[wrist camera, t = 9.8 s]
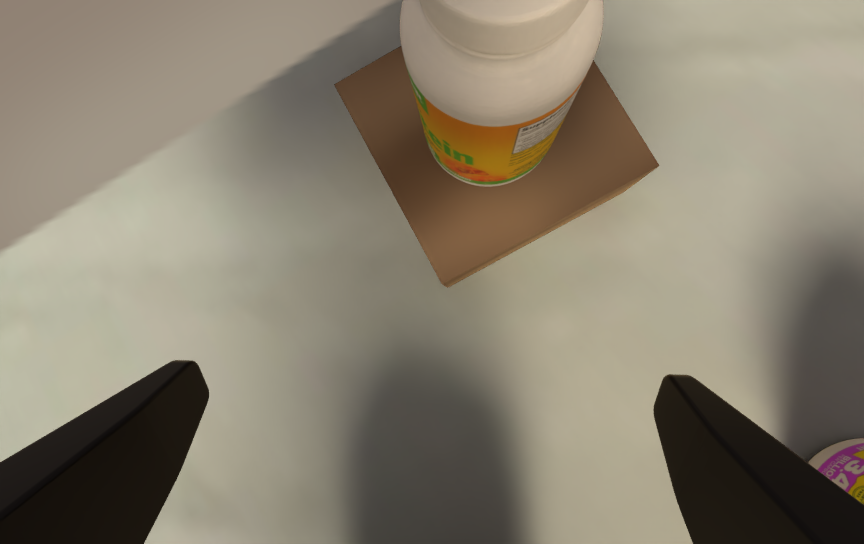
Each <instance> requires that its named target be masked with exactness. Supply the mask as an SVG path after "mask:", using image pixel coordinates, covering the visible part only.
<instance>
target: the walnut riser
mask: <svg viewBox="0 0 864 544" xmlns="http://www.w3.org/2000/svg"><path fill="white" fill-rule="evenodd" d="M334 85H335V87H336V89H337V91H338V93H339V95H340V96H341V98H342V100H343V102H344V104H345V106H346V108H347V109H348V111H349V113H350V115H351V117H352V119H353V120H354V122H355V124H356V126H357V128H358V130H359V132H360V133H361V135H362V137H363V139H364V141H365V143H366V145H367V146H368V148H369V150H370V152H371V154H372V156H373V157H374V159H375V161H376V163H377V165H378V167H379V169H380V170H381V172H382V174H383V176H384V178H385V180H386V182H387V183H388V185H389V187H390V189H391V191H392V193H393V194H394V196H395V198H396V200H397V202H398V204H399V206H400V207H401V209H402V211H403V213H404V215H405V217H406V218H407V220H408V222H409V224H410V226H411V228H412V230H413V231H414V233H415V235H416V237H417V239H418V241H419V243H420V244H421V246H422V248H423V250H424V252H425V254H426V255H427V257H428V259H429V261H430V263H431V265H432V267H433V268H434V270H435V272H436V274H437V276H438V278H439V280H440V281H441V283H442V284H443V285H444V286H446V287H447V288H448V287H450V286H452V285H453V284H455V283H457V282H459V281H461V280H463V279H464V278H466V277H468V276H470V275H472V274H474V273H476V272H477V271H479V270H481V269H483V268H485V267H487V266H488V265H490V264H492V263H494V262H496V261H498V260H499V259H501V258H503V257H505V256H507V255H509V254H510V253H512V252H514V251H516V250H518V249H520V248H522V247H523V246H525V245H527V244H529V243H531V242H533V241H534V240H536V239H538V238H540V237H542V236H544V235H545V234H547V233H549V232H551V231H553V230H555V229H556V228H558V227H560V226H562V225H564V224H566V223H568V222H569V221H571V220H573V219H575V218H577V217H579V216H580V215H582V214H584V213H586V212H588V211H590V210H591V209H593V208H595V207H597V206H599V205H601V204H603V203H604V202H606V201H608V200H610V199H612V198H614V197H615V196H617V195H619V194H621V193H623V192H625V191H626V190H627V189H629V188H630V187H631V186H633V185H634V184H635V183H637V182H638V181H639V180H641V179H642V178H643V177H645V176H646V175H647V174H649V173H650V172H651V171H653V170H654V169H655V168H657V167H658V166H659V164H658V163H657V161H656V159H655V158H654V156H653V155H652V153H651V151H650V150H649V148H648V147H647V145H646V143H645V142H644V140H643V139H642V137H641V135H640V134H639V132H638V131H637V129H636V127H635V126H634V124H633V123H632V121H631V120H630V118H629V116H628V115H627V113H626V112H625V110H624V108H623V107H622V105H621V104H620V102H619V100H618V99H617V97H616V96H615V94H614V92H613V91H612V89H611V88H610V86H609V84H608V83H607V81H606V80H605V78H604V76H603V75H602V73H601V72H600V70H599V68H598V67H597V65H596V64H595V62H594V60H593V62H592V64H591V66H590V68H589V70H588V72H587V74H586V77H585V79H584V80H583V82H582V84H581V86H580V88H579V90H578V92H577V94H576V96H575V98H574V100H573V103H572V105H571V107H570V109H569V111H568V113H567V115H566V117H565V119H564V121H563V123H562V125H561V127H560V129H559V131H558V133H557V135H556V137H555V139H554V141H553V143H552V145H551V147H550V148H549V150H548V152H547V153H546V155H545V156H544V158H543V159H542V160H541V162H540V163H539V164H538V165H537V166H536V167H535V168H534V169H533V170H532V171H530V172H529V173H528V174H526V175H525V176H523V177H521V178H520V179H518V180H515V181H513V182H511V183H508V184H504V185H500V186H492V187H484V186H476V185H471V184H468V183H465V182H463V181H461V180H458V179H456V178H455V177H453V176H452V175H450V174H449V173H448V172H446V171H445V170H444V169H443V168H442V167H441V166H440V165H439V163H438V162H437V161H436V159H435V158H434V156H433V154H432V153H431V150H430V148H429V146H428V143H427V140H426V137H425V133H424V129H423V125H422V121H421V118H420V114H419V110H418V106H417V103H416V99H415V96H414V92H413V88H412V85H411V81H410V77H409V74H408V70H407V67H406V64H405V60H404V55H403V51H402V46H400V47H398V48H397V49H395V50H393V51H391V52H390V53H388V54H386V55H384V56H383V57H381V58H379V59H378V60H376V61H374V62H372V63H371V64H369V65H367V66H365V67H364V68H362V69H360V70H358V71H357V72H355V73H353V74H351V75H350V76H348V77H346V78H345V79H343V80H341V81H339V82H338V83H336V84H334Z"/></svg>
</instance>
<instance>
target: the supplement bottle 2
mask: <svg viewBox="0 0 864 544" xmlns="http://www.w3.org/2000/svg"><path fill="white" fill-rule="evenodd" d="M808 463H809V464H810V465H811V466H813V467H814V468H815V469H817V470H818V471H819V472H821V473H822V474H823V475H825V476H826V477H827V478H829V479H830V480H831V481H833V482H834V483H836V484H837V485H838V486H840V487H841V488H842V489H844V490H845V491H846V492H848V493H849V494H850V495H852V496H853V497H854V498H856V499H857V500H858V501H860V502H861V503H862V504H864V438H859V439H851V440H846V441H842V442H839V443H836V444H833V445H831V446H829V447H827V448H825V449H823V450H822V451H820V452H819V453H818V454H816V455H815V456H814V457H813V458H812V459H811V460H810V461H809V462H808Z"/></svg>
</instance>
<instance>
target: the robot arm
mask: <svg viewBox="0 0 864 544" xmlns="http://www.w3.org/2000/svg"><path fill="white" fill-rule="evenodd" d="M208 399H209V390H208V387H207V384H206V382H205V380H204V377H203V375H202V372H201V370H200V368H199V366H198V364H197V363H196V362H195V361H189V360H175V361H171V362H170V363H168V364H166V365H164V366H163V367H161V368H159V369H158V370H156V371H154V372H153V373H151V374H149V375H147V376H146V377H144V378H142V379H141V380H139V381H137V382H136V383H134V384H132V385H131V386H129V387H127V388H125V389H124V390H122V391H120V392H119V393H117V394H115V395H114V396H112V397H110V398H109V399H107V400H105V401H103V402H102V403H100V404H98V405H97V406H95V407H93V408H92V409H90V410H88V411H87V412H85V413H83V414H81V415H80V416H78V417H76V418H75V419H73V420H71V421H70V422H68V423H66V424H64V425H63V426H61V427H59V428H58V429H56V430H54V431H53V432H51V433H49V434H48V435H46V436H44V437H42V438H41V439H39V440H37V441H36V442H34V443H32V444H31V445H29V446H27V447H26V448H24V449H22V450H20V451H19V452H17V453H15V454H14V455H12V456H10V457H9V458H7V459H5V460H3V461H2V462H0V544H144V542H145V540H146V538H147V536H148V534H149V533H150V531H151V529H152V527H153V525H154V523H155V521H156V519H157V517H158V515H159V513H160V511H161V509H162V507H163V505H164V503H165V501H166V499H167V497H168V495H169V493H170V491H171V489H172V487H173V485H174V483H175V481H176V479H177V477H178V475H179V473H180V470H181V468H182V466H183V464H184V461H185V459H186V456H187V453H188V451H189V448H190V446H191V443H192V441H193V438H194V436H195V433H196V431H197V428H198V426H199V423H200V420H201V418H202V415H203V413H204V410H205V408H206V405H207V403H208ZM654 418H655V422H656V426H657V430H658V434H659V437H660V441H661V445H662V449H663V452H664V456H665V460H666V463H667V467H668V471H669V475H670V478H671V482H672V486H673V489H674V493H675V496H676V499H677V502H678V505H679V508H680V511H681V513H682V516H683V519H684V521H685V524H686V526H687V529H688V532H689V534H690V537H691V539H692V542H693V544H864V504H862V503H861V502H860V501H858V500H857V499H856V498H854V497H853V496H852V495H850V494H849V493H848V492H846V491H845V490H844V489H842V488H841V487H840V486H838V485H837V484H836V483H834V482H833V481H831V480H830V479H829V478H827V477H826V476H825V475H823V474H822V473H821V472H819V471H818V470H817V469H815V468H814V467H813V466H811V465H810V464H809V463H807V462H806V461H805V460H803V459H802V458H801V457H799V456H798V455H797V454H795V453H794V452H793V451H791V450H790V449H789V448H787V447H786V446H785V445H783V444H782V443H781V442H779V441H778V440H777V439H775V438H774V437H773V436H771V435H770V434H769V433H767V432H766V431H765V430H763V429H762V428H761V427H759V426H758V425H757V424H755V423H754V422H753V421H751V420H750V419H749V418H747V417H746V416H744V415H743V414H742V413H740V412H739V411H738V410H736V409H735V408H734V407H732V406H731V405H730V404H728V403H727V402H726V401H724V400H723V399H722V398H720V397H719V396H718V395H716V394H715V393H714V392H712V391H711V390H710V389H708V388H707V387H706V386H704V385H703V384H702V383H700V382H699V381H698V380H696V379H695V378H693V377H692V376H689V375H672V374H670V375H666V376H665V377H664V378H663V380H662V383H661V386H660V389H659V392H658V395H657V398H656V401H655V404H654Z"/></svg>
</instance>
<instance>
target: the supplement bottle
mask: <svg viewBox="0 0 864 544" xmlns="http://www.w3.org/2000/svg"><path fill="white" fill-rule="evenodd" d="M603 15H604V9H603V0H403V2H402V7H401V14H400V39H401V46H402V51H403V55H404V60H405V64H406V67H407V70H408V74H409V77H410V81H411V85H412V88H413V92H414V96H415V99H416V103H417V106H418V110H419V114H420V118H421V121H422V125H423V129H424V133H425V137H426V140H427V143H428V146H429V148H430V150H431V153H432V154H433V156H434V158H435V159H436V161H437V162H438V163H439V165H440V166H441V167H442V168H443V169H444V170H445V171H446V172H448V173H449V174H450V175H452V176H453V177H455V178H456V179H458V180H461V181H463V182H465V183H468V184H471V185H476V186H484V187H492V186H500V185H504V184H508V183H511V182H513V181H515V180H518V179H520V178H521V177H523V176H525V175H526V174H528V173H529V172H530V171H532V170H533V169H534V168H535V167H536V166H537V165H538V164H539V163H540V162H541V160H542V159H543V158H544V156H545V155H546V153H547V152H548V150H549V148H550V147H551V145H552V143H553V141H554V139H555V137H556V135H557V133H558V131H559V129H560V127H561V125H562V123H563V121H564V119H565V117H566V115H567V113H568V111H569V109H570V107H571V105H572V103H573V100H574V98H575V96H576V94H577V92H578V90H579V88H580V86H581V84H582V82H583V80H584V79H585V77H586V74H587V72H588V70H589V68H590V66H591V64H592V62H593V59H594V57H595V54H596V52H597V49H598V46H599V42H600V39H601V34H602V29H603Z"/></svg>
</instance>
